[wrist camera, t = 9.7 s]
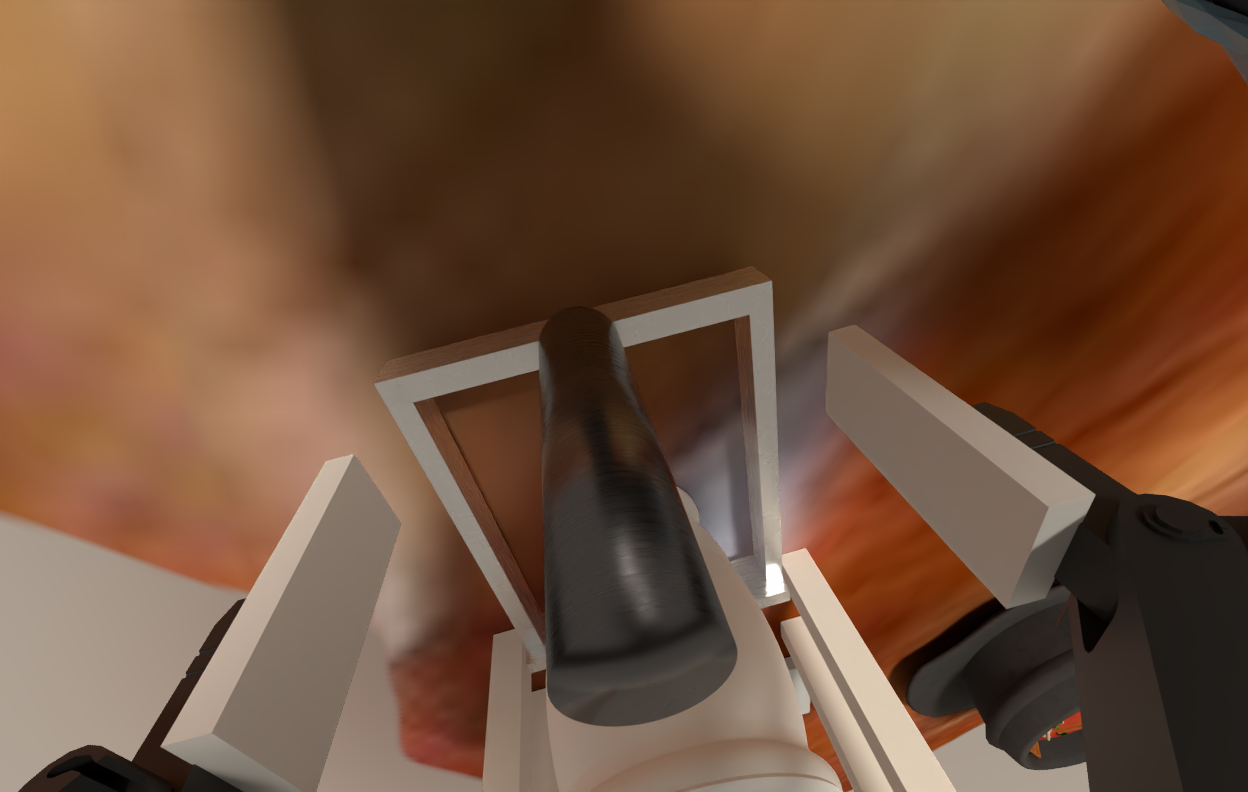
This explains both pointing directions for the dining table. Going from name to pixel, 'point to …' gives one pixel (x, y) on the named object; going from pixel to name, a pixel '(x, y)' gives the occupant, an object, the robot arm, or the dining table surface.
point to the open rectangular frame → (819, 668)
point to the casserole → (1012, 683)
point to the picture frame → (609, 497)
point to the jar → (705, 720)
